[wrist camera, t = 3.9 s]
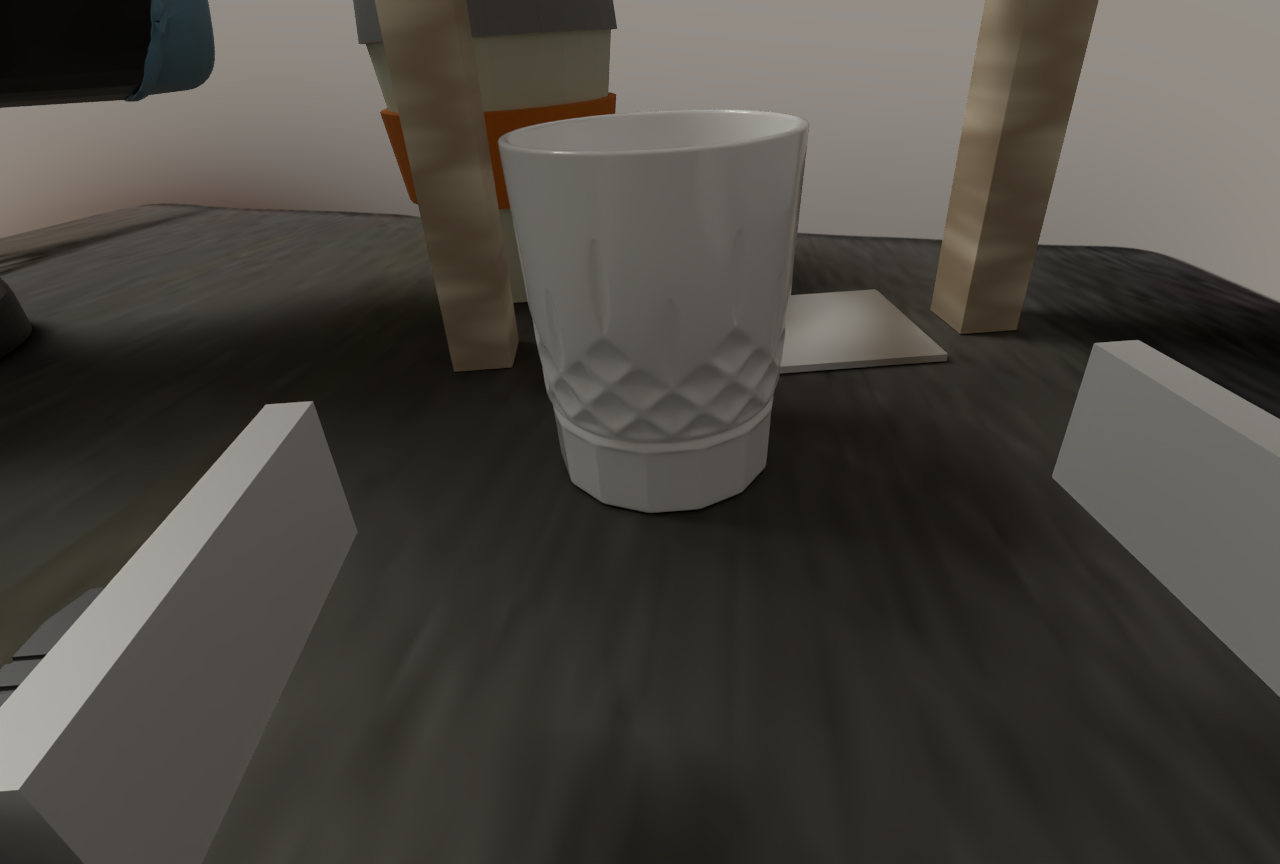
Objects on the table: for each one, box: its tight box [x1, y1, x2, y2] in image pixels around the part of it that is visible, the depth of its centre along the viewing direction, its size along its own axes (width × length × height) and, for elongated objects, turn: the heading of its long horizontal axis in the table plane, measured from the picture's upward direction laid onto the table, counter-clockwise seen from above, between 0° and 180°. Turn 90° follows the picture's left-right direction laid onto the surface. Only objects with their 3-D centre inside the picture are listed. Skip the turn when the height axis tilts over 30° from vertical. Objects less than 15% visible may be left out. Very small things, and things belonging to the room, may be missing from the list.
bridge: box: [375, 0, 1098, 373], centre depth 26 cm, size 24×8×18 cm, turn 94°
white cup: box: [498, 109, 809, 513], centre depth 20 cm, size 8×8×10 cm
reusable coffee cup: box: [353, 0, 617, 303], centre depth 36 cm, size 13×12×15 cm
